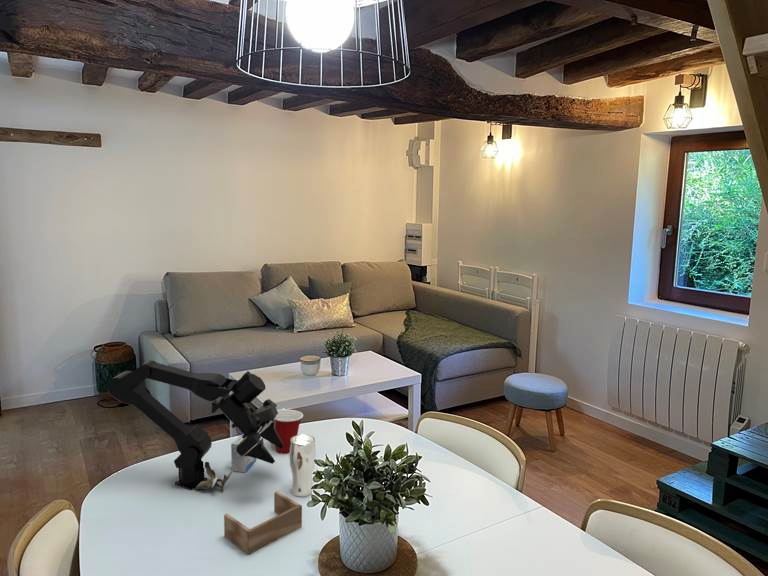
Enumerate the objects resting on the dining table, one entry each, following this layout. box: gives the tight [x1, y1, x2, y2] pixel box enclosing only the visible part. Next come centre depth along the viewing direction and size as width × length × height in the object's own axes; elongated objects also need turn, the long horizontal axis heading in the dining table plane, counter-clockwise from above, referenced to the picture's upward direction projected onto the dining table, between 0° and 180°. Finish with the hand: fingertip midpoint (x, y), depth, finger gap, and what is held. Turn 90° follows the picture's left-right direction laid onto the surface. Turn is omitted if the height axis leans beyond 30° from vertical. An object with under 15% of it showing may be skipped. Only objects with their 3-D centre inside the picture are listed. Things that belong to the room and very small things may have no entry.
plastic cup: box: [271, 408, 304, 454], centre depth 182 cm, size 11×11×12 cm
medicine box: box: [230, 433, 257, 473], centre depth 171 cm, size 8×4×9 cm, turn 168°
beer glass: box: [289, 434, 317, 498], centre depth 157 cm, size 7×7×15 cm
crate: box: [223, 490, 303, 555], centre depth 139 cm, size 10×15×6 cm, turn 138°
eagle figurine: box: [193, 461, 233, 493], centre depth 158 cm, size 8×7×9 cm
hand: (278, 454), depth 157 cm, fingers open, 9 cm apart
